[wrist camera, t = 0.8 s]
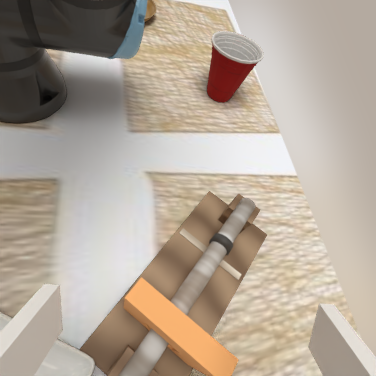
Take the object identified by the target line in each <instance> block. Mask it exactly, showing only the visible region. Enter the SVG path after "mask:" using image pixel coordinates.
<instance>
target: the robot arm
mask: <svg viewBox="0 0 376 376" xmlns="http://www.w3.org/2000/svg"><path fill="white" fill-rule="evenodd" d="M147 1H148V0H0V121H3V122H9V123H25V122H32V121H37V120H40V119H43V118H45V117H48V116H50V115H51V114H53V113H54V112H56V111H57V110H58V109H59V108H60V107H61V106H62V105H63V103H64V101H65V99H66V95H67V92H66V86H65V82H64V78H63V76H62V74H61V72H60V71H59V69H58V68H57V66H56V65H55V63H54V62H53V60H52V59H51V57H50V56H49V54H48V53H47V51H46V50H45V48H46V49H53V50H60V51H66V52H73V53H79V54H86V55H92V56H99V57H105V58H108V59H113V58H123V59H129V58H132V57H134V56H135V55H136V53H137V52H138V50H139V47H140V44H141V40H142V36H143V31H144V19H145V15H146V10H147ZM62 330H63V329H62V314H61V299H60V285H54V284H44V285H43V286H42V287H41V288H40V289H39V290H38V291H37V292H36V293H35V295H34V296H33V297H32V298H31V299H30V300H29V301H28V302H27V303H26V304H25V305H24V307H23V308H22V309H21V310H20V311H19V312H18V313H17V314H16V315H15V316H14V317H13V319H12V320H11V321H10V322H9V323H8V324H7V325H6V326H5V327H4V328H3V329H2V331H1V332H0V376H34V375H35V373H36V372H37V370H38V369H39V367H40V365H41V364H42V362H43V361H44V359H45V357H46V356H47V354H48V352H49V351H50V349H51V348H52V346H53V344H54V343H55V341H56V340H57V338H58V336H59V335H60V333H61V332H62ZM309 349H310V351H311V353H312V355H313V357H314V359H315V361H316V363H317V365H318V366H319V368H320V370H321V372H322V374H323V376H376V357H375V356H374V354H373V353H372V352H371V351H370V349H369V348H368V347H367V346H366V344H365V343H364V342H363V340H362V339H361V338H360V337H359V335H358V334H357V333H356V332H355V330H354V329H353V328H352V327H351V325H350V324H349V323H348V321H347V320H346V319H345V318H344V316H343V315H342V314H341V313H340V311H339V310H338V309H337V308H336V306H335V305H333V304H319V306H318V310H317V314H316V318H315V322H314V326H313V330H312V335H311V339H310V343H309Z"/></svg>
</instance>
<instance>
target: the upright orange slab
mask: <svg viewBox="0 0 376 376" xmlns="http://www.w3.org/2000/svg"><path fill="white" fill-rule="evenodd" d="M123 308H124V309H125V310H126V311H127V312H128V313H130V314H131V315H132V316H133V317H134V318H135V319H136V320H138V321H139V322H140V323H141V324H142V325H143V326H144V327H145V328H147V329H148V330H149V331H150V329H151V328H152V329H153V330H154V331H155V332H156V333H157V334H159V335H160V336H161V337H162V338H163V339H164V340H165V341H166V342H168V343H169V344H168V346H167V347H168V348H169V349H170V350H172V351H173V352H174V353H175V354H176V355H177V356H178V357H179V358H181V359H182V360H183V361H184V362H185V363H186V364H187V365H189V366H191V367H192V368H194V369H196V370H198V371H200V372H201V373H203V374H205V375H207V376H231V375H232V373H233V371H234V369H235V367H236V364H237V362H238V359H237V358H236V357H235V356H234V355H232V354H231V353H230V352H229V351H228V350H227V349H225V348H224V347H223V346H222V345H221V344H220V343H218V342H217V341H216V340H215V339H214V338H213V337H211V336H210V335H209V334H208V333H207V332H205V331H204V330H203V329H202V328H201V327H200V326H198V325H197V324H196V323H195V322H194V321H193V320H191V319H190V318H189V317H188V316H187V315H185V314H184V313H183V312H182V311H181V310H180V309H178V308H177V307H176V306H175V305H174V304H173V303H171V302H170V301H169V300H168V299H167V298H166V297H164V296H163V295H162V294H161V293H160V292H158V291H157V290H156V289H155V288H154V287H153V286H151V285H150V284H149V283H148V282H147V281H146V280H144V279H143V278H142V277H141V278H140V279H139V281H138V282H137V283H136V284H135V285H134V287H133V288H132V289H131V290H130V292H129V293H128V294H127V295H126V296H125V298H124V307H123Z"/></svg>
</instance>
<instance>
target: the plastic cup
mask: <svg viewBox="0 0 376 376" xmlns="http://www.w3.org/2000/svg"><path fill="white" fill-rule="evenodd" d="M212 46H213V47H212V58H211V65H210V71H209V77H208V79H209V80H208V85H207V93H208V95H209V97H210V98H211V99H213V100H214V101H217V102H227V101H228V100H229V99H230V98H231V97H232V96H233V94H234V93H235V91H236V90H237V89H238V88H239V87H240V85H241V84H242V82H243V81H244V80H245V78H246V77H247V75H248V74H249V73H250V71H251V70H252V69H253V68H254V66H256V64H257V63H258V62H259V61H261V60H262V59H263V55H264V53H263V51H262V49H261V47H260V46H259V45H258V44H256V43H255V42H254V41H253V40H251V39H249V38H247V37H246V36H243V35H241V34H238V33H234V32H229V31H219V32H216V33H214V34H213V36H212Z"/></svg>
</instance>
